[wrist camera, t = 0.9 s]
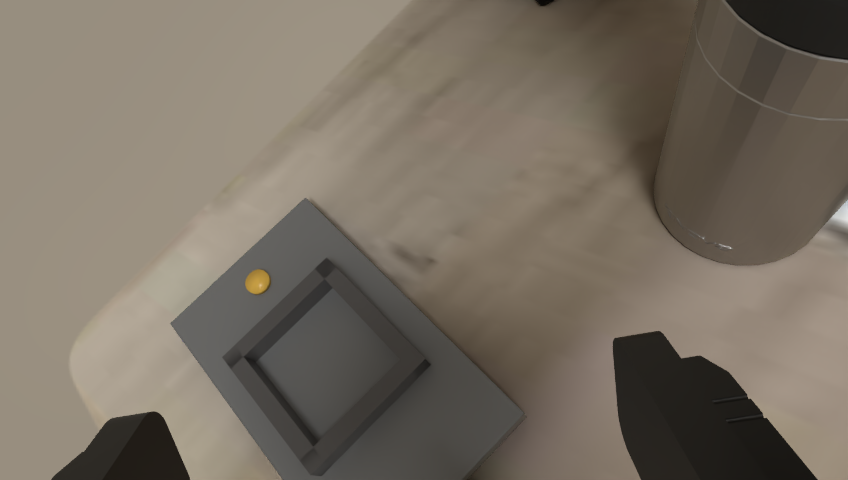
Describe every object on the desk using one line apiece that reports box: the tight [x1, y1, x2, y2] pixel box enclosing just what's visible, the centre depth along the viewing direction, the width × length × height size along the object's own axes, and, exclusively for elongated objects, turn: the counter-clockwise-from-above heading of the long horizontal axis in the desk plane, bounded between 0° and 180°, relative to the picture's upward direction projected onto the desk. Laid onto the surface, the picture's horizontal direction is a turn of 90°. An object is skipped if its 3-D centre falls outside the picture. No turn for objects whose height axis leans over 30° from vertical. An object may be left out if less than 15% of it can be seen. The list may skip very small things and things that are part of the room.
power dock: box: [170, 198, 526, 480], centre depth 35 cm, size 12×20×3 cm, turn 43°
